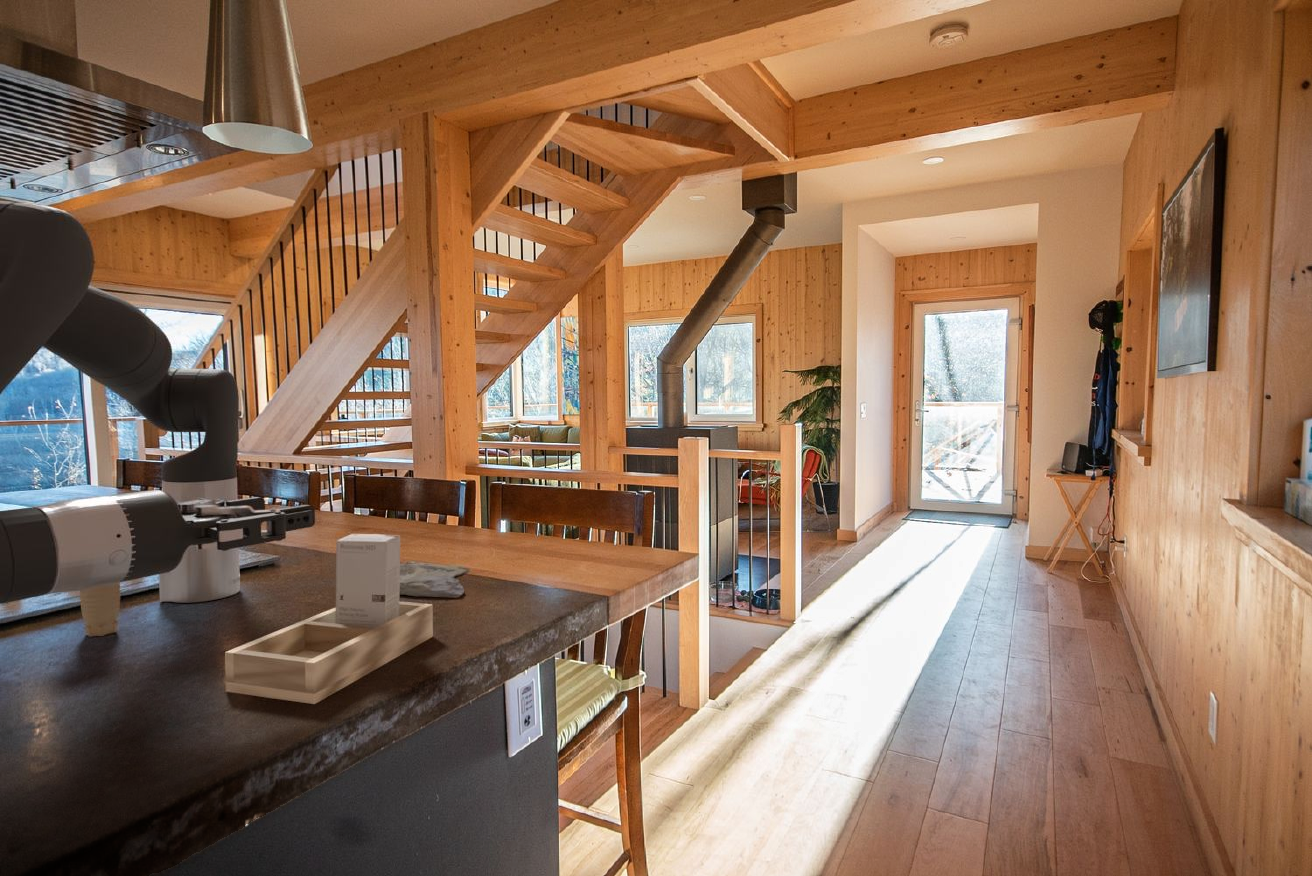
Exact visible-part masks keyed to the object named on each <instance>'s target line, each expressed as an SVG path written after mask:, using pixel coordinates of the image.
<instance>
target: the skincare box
mask: <svg viewBox="0 0 1312 876" xmlns="http://www.w3.org/2000/svg"><path fill="white" fill-rule="evenodd" d="M401 541H402V540H401V535H397V534H382V533H380V534H379V533H370V534H369V533H351V534H349V535H346V536H344V537H342V538H339V539H338V540H336V546H335V547H336V548H335V549H336V552H335V553H336V561H335V562H336V563H335V607H336V624H344V625H354V626H363V627H373V628H376V627H378V626H381V625H383V624H385V623H387V622H389V621H391V620H393V619H395V618H397V617H399V601H400V595H401V594H400V564H401Z"/></svg>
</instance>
